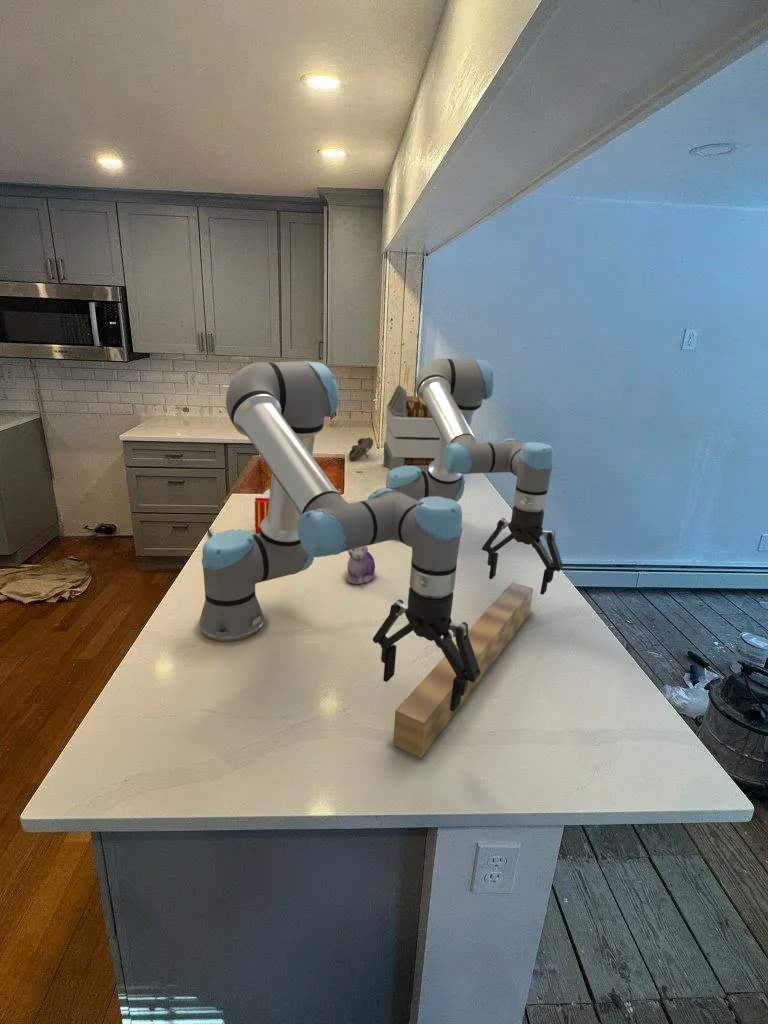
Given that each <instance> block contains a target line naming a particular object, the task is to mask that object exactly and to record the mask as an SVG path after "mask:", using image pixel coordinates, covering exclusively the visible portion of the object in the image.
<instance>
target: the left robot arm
mask: <svg viewBox="0 0 768 1024" xmlns="http://www.w3.org/2000/svg"><path fill="white" fill-rule="evenodd" d="M338 405H339V390H338V385H337V382H336V379H335V377H334V375H333V373H332V371H331V370H330V368H329V367H327V365H325V364H324V363H322V362H319V361H308V360H300V361H273V362H271V361H270V362H267V361H266V362H265V361H259V362H254V363H250V364H248V365H246V366H244V367H243V368H241V369H240V370H239V371H238V372H237V373H236V374H235V375H234V376H233V377H232V379H231V381H230V383H229V384H228V387H227V390H226V395H225V407H226V412H227V415H228V417H229V419H230V422H231V423H232V425H233V427H234V429H236V431H237V432H238V433H239V434H240V435H242V436H245V437H247V438H248V440H249V441H250V442H251V444H252V445H253V447H254V448H255V450H256V451H257V453H258V454H259V456H260V457H261V459H262V460H263V462H264V463H265V465H266V466H267V468H268V470H269V471H270V472H271V476H270V488H269V490H270V497H269V507H268V517H266V518H265V519H263V520H262V522H261V525H260V533H259V534H256V533H255V534H252V532H251V531H249V530H245V529H237V530H235V529H230V530H224V531H221V532H218V533H216V534H214V535H213V534H212V533H211V531H210V527H209V525H206V531H207V534H208V536H209V538H208V539H207V540H206V541H205V542H204V544H203V545H202V549H201V550H202V558H201V566H202V571H203V573H202V574H203V584H204V596H205V599H204V604H203V607H202V610H201V614H200V617H199V622H198V627H199V632H200V634H201V635H202V636H203V637H204V638H205V639H208V640H210V641H213V642H216V643H217V642H218V643H219V642H220V643H237V642H241V641H244V640H248V639H250V638H252V637H254V636H256V635H257V634H258V633H260V632H261V631H262V630H263V628H264V626H265V615H264V613H263V610H262V608H261V607H262V606H261V605H260V603H259V600H258V598H257V596H256V595H257V594H256V584H260V583H262V582H267V581H271V580H275V579H279V578H282V577H286V576H291V575H295V574H298V573H300V572H303V571H305V570H307V569H309V568H310V567H311V565H312V564H313V562H314V560H315V558H321V557H328V556H336V555H340V554H341V553H344V552H348V550H352V549H356V548H359V547H363V546H371V545H375V544H379V543H383V542H388V541H392V540H395V539H396V540H395V541H398V542H400V543H402V544H403V545H406V546H407V547H409V548H411V549H412V550H411V561H410V575H409V588H408V596H407V605H406V604H405V603H404V600H403V599H400V598H399V599H398V600H395V602H394V603H393V604H391V605H390V609H389V614H388V616H387V617H386V619H385V620H384V621H383V623H382V624H381V626H380V627H379V629H378V630H377V632H375V634H374V636H373V637H372V642H373V643H374V644H378V645H380V648H381V654H380V661H381V663H383V664H384V666H383V682H385V683H388V682H389V681H390V680H391V679H392V678H393V677H395V671H396V670H395V669H396V658H397V645H396V644H395V643H396V642H398V641H400V640H401V639H403V638H404V637H405V636H408V635H409V634H410V633H412V632H414V634H415V635H416V636H417V637H419V638H424V639H426V640H428V641H430V642H434V643H435V645H436V646H437V647H438V649H440V650H441V652H442V653H443V655H444V657H446V658H447V660H448V662H449V663H450V665H451V667H452V669H453V670H454V672H455V674H456V675H457V676H456V677H455V678H454V681H453V689H452V697H451V705H450V710H451V711H453V712H454V711H455V709H456V708H457V707H458V705H459V704H460V700H461V696H463V695H464V693H465V692H466V691H467V687H468V681H470V682H475V681H476V679H477V678H478V677H479V675H480V674H481V672H480V669H479V666H478V663H477V660H476V657H475V654H474V651H473V648H472V645H471V642H470V639H469V636H468V630H469V624H468V623H467V622H465V621H462V623H458V622H453V620H452V617H451V615H452V610H453V602H454V590H455V585H456V576H457V566H458V558H459V549H460V543H461V535H463V534H462V533H463V508H462V506H461V504H460V503H459V502H458V501H457V502H456V501H454V500H452V499H446V498H443V497H436V496H433V497H425V498H422V499H421V500H419V501H417V500H415V499H413V498H411V497H409V496H407V495H405V494H403V493H402V492H398V491H396V490H392V489H389V488H386V487H381V488H378V489H376V490H375V491H374V492H373V493H370V494H369V496H368V497H367V499H364V500H361V501H354V502H349V503H348V502H347V501H346V500H345V499H344V497H343V496H342V495H341V494H340V492H339V491H338V489H337V488H336V487H335V485H334V484H333V483H332V481H331V480H330V479H329V477H328V476H327V474H326V473H325V472H324V470H323V469H322V468H321V466H320V465H319V463H317V461H316V459H315V458H314V456H313V453H314V447H315V440H316V439H315V438H316V435H317V434H319V433H320V432H322V430H323V429H324V423H325V418H326V417H327V418H328V417H330V416H332V415H334V413H336V412H337V409H338ZM346 502H347V503H346ZM403 614H404V615H405V617H406V619H407V622H408V623H407V624H405V625H404V626H403V627H402V628H400V629H399V630H397V631H396V632H395V633H393V634H392V635H390V636H389V637H387V636H386V635H387V634H388V633H389V631H390V630H391V628H392V627H393V626H394V624H395V623H396V621H397V620H398V618H399V617H401V616H402V615H403ZM450 631H451V632H452V633H451V632H450ZM453 638H455V642H454V641H453ZM456 644H457V647H458V649H457V647H456V646H455V645H456ZM458 650H459V651H458Z"/></svg>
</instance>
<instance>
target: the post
mask: <svg viewBox="0 0 768 1024" xmlns="http://www.w3.org/2000/svg"><path fill="white" fill-rule="evenodd" d="M533 592H534V587H530V586H528V585H523V584H520V583H516V582H514V581H513V582H510V584H508V586H507V587H506V588H505V590H504V591H503V592H501V594H500V595H499V596H498V597H497V598H496V599H495V600H494V602H492V604H491V605H490V606H489V607H488V608H487V609H486V611H485V612H483V613H482V615H481V616H480V617H479V618H478V619H477V620H476V621H475V622H474V624H473V625H472V626H471V627H470V628H468V636H469V639H470V642H471V645H472V648H473V651H474V654H475V657H476V660H477V663H478V666H479V669H480V672H481V674H480V675H479V677H478V678H477V679H476V681H475V682H470V681H468V687H467V691H466V692H465V693H464V695H463V696H461V700H460V704H459V705H458V707H457V708H456V709H455V711H454V712H453V711H451V710H450V705H451V697H452V689H453V681H454V678H455V677H456V676H457V675H456V674H455V672H454V670H453V669H452V667H451V665H450V663H449V662H448V660H447V658H446V657H445V656H444V657H443V658H442V659H441V660H439V662H437V664H436V665H435V666H434V668H432V670H431V671H430V672H429V673H428V674H427V675H426V676H425V678H423V679H422V681H420V682H419V684H418V685H417V686H416V687H415V688H414V690H412V691H411V693H410V694H408V696H407V697H406V698H405V699H404V701H403V702H402V703H400V705H399V706H398V707H397V708H396V709H395V713H394V714H395V715H394V716H395V717H394V728H393V729H394V731H393V746H395V747H397V748H399V749H401V750H404V751H406V752H408V753H409V754H412V755H414V756H415V757H418V758H421V759H422V758H423V757H424V755H425V754H426V752H427V751H428V750H429V748H430V747H431V746H432V745H433V743H434V742H435V741H436V740H437V738H438V736H440V734H441V732H442V731H443V730H444V728H445V727H446V726H447V725H448V723H449V722H450V721H451V719H452V718H453V717H454V715H455V714H456V713H457V711H458V710H459V709H460V707H461V706H462V705H463V704H464V702H465V701H466V699H467V698H468V697H469V695H470V694H471V692H472V691H473V690H474V689H475V688H476V686H477V685H478V683H479V682H480V681H481V679H482V678H483V676H485V674H486V673H487V671H488V670H489V669H490V667H491V666H492V664H494V662H495V661H496V659H497V658H498V657H499V655H500V654H501V653H502V651H503V650H504V649H505V647H506V646H507V645H508V643H509V642H510V641H511V639H512V638H513V637H514V635H515V634H516V633H517V631H518V630H519V629H520V627H521V626H522V624H523V623H524V622H525V621H526V619H527V618H528V616H529V615H530V614H531V608H532V607H531V606H532V600H533ZM455 646H456V647H457V644H456V643H455ZM457 649H458V647H457ZM458 651H459V650H458Z"/></svg>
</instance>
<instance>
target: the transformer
mask: <svg viewBox="0 0 768 1024" xmlns="http://www.w3.org/2000/svg"><path fill="white" fill-rule="evenodd" d="M407 394H408V393H407V390H406V389H404V388H403V387H402V385H399V384H398V385H397V386H396V388H395V390H394V392H393V394H392V395H391V398H390V400H389V402H388V404H387V405H386V413H385V414H386V415H385V423H386V428H385V438H384V442H383V466H384V467H388V468H389V471H390V470H392V469H394V468H397V467H401V466H416V467H429V464H430V463H431V462H433V461H435V456H436V452H437V448H438V444H439V440H440V436H441V435H440V433H439V430H438V428H437V426H436V424H435V422H434V420H433V418H432V416H431V414H430V412H429V410H428V408H427V406H425V405H424V404H422V403H421V402H420V400H419V398H418V396H417V395H416V396H415V395H414V396H413V395H412V396H411V395H407Z"/></svg>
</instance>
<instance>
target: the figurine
mask: <svg viewBox="0 0 768 1024" xmlns="http://www.w3.org/2000/svg"><path fill="white" fill-rule="evenodd" d="M367 546H368V545H367ZM367 546H363V547H359V548H356V549H352V550H348V551H347V553H348V555H349V558H348V561H347V574H346V578H347V581H348V583H351V584H355V585H356V584H357V585H358V584H359V585H360V584H363V583H368V582H369V581H371V580H372V579H374V576H375V571H376V563H375V559H374V557H373V555H372V554H371V553H370V552H369V551H368V550H369V549H368V547H367Z"/></svg>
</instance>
